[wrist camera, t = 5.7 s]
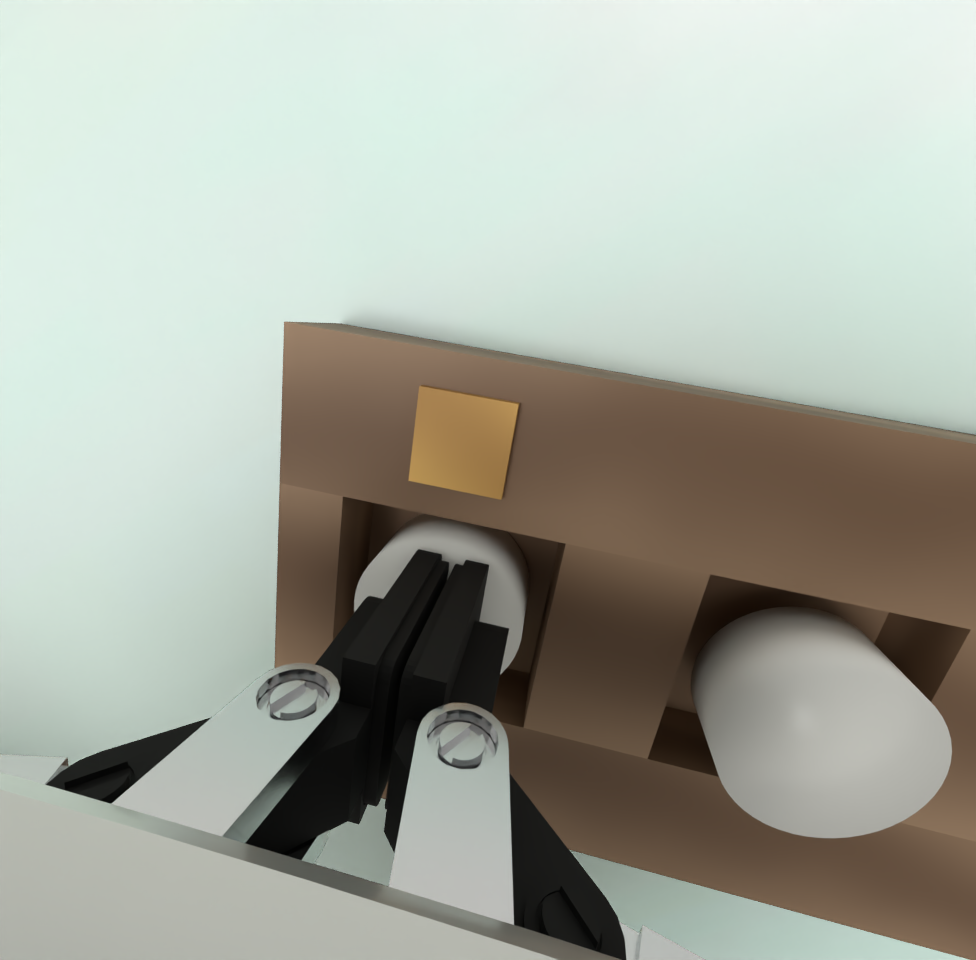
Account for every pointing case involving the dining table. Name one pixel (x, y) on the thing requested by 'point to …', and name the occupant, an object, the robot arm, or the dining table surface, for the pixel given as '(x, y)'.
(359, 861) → the dining table surface
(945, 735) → the button middle
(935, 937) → the button panel
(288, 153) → the dining table surface
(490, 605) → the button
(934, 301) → the dining table surface
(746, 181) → the dining table surface
